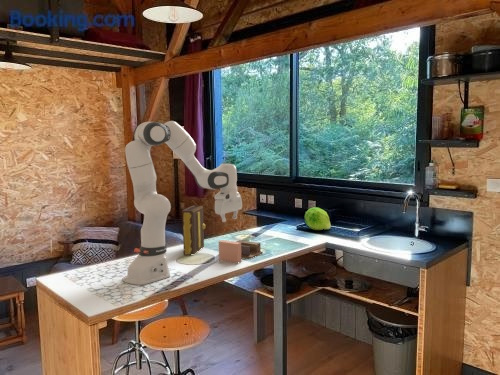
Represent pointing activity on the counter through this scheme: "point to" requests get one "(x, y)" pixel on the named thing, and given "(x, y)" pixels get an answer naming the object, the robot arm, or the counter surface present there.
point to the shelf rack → (251, 248)
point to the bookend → (245, 250)
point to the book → (193, 229)
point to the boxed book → (229, 251)
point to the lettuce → (317, 219)
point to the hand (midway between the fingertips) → (229, 220)
